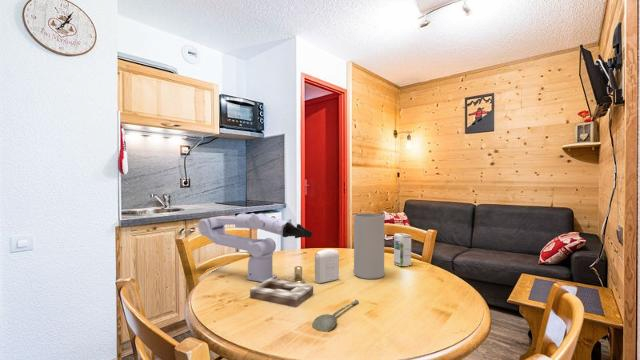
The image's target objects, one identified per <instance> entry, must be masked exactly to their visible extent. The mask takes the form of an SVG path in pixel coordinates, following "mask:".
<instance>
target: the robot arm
mask: <svg viewBox="0 0 640 360" xmlns="http://www.w3.org/2000/svg"><path fill="white" fill-rule="evenodd" d="M226 225H235V226H236V227H237V228H239V229H252V230H253V231H256V230H258V229H259V230H262V231H265V232H269V233H272V234H276V235H279V236H282V237H283V238H287V237H294V238H295V239H299V238H307V239H308V238H310V239H311V238H312V237H313V231H311V230H309V229H307V228H305V227H303V225H301V224H300V223H297V224H296V226H295V224H293V223H292V219H291V218H288V219H287V221H286V220H284V219H279V218H275V217H270V216H267V215H266V214H265V213H262V212H261V213H258V214H255V213H254V212H251V213H249V214H248V213H246V212H240V213H239V214H237V215H236V216H230V215H229V216H228V215H219V216H214V217H213V216H212V217H207V218H202V219H200V220H198V224H197V227H198V230H199V232H200V235H201V236H205V237H207V239H209V240H210V241H211V242H212V243H214V245H218V246H223V247H228V248H232V249H238V250H242V251H246V252H247V254H249V255H251V256H250V257H249V258H248V262H247V277H246V280H250V281H253V282H254V281H255V282H260V283H262V282H264V281H266V280H268V279H270V278H272V279H276V278H277V277H278V275H276V274H273V272H274V271H273V269H274V268H273V267H274V266H273V256H274V252H275V251H276V249H277V244H276V241H275V240H274V239H273V238H271V237H266V238H252V237H251V238H250V237H247V236H246V237H245V236H241V235H236V234H230V233H227V232H226V231H227V230H226V227H225V226H226Z"/></svg>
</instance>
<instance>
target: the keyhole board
mask: <svg viewBox="0 0 640 360" xmlns="http://www.w3.org/2000/svg"><path fill="white" fill-rule="evenodd" d="M313 295H314V285H313V284H308V283H304V284H302V283H296V282H292V281H289V280H284V279H276V278H274V279H272V278H270V279H268V280H266V281H264V282H260V283H259V284H256V285H255V286H252V287H250V288H249V298H251V299H257V300H261V301H265V302H270V303H274V304H275V303H276V304H280V305H286V306H290V307H294V308H296V307H298V306H299V305H301V304H302V303H303V302H305V301H306V300H308V299H309V298H310V297H311V296H313Z"/></svg>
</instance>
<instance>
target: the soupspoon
mask: <svg viewBox="0 0 640 360" xmlns="http://www.w3.org/2000/svg"><path fill="white" fill-rule="evenodd" d="M359 304H360V302H359V300H358V299H355V300H354V301H352V302H350V303H349V304H347V305H344V306H343V307H341V308H340V309H338V310H336V311H335V312H334V313H333V314H328V313H327V314H326V313H325V314H321V315H319V316H317V317H315V319H314V320H313V321H312V329H313V330H315V331H318V332H323V333H329V332H331V331H332V329H334V328H335V326H336V324H337V322H338V319H337V317H336V316H337V315H338V314H339V313H340V312H342V311H344V310H345V309H348V307H350V306H355V305H359Z"/></svg>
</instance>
